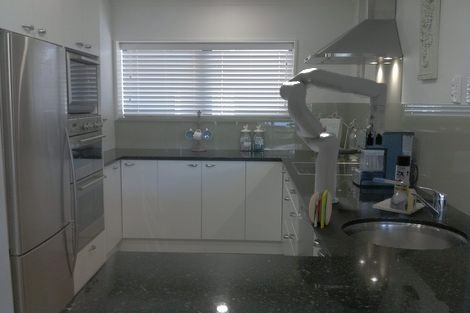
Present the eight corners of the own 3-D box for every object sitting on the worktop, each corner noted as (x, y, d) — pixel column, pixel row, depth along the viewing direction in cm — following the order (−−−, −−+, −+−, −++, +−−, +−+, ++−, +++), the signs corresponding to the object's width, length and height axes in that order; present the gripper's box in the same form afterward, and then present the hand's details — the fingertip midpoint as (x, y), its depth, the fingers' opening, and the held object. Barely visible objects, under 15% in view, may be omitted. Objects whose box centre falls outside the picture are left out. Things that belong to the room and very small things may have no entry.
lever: (410, 185, 190) (410, 182, 190) (407, 186, 188) (407, 183, 188) (375, 180, 201) (375, 177, 200) (372, 181, 198) (372, 178, 198)
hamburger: (310, 218, 171) (311, 188, 170) (331, 220, 169) (333, 190, 167) (306, 226, 160) (307, 194, 158) (329, 228, 157) (330, 196, 156)
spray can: (391, 194, 220) (394, 155, 218) (397, 192, 225) (400, 154, 223) (404, 196, 216) (407, 156, 213) (410, 194, 221) (413, 155, 218)
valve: (409, 214, 180) (411, 191, 179) (372, 207, 190) (373, 186, 189) (424, 206, 195) (426, 185, 194) (389, 200, 206) (390, 180, 204)
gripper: (377, 109, 195) (374, 146, 197) (392, 109, 208) (389, 145, 210) (361, 108, 200) (358, 145, 202) (377, 109, 213) (374, 143, 215)
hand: (374, 145), depth 206 cm, fingers open, 9 cm apart
